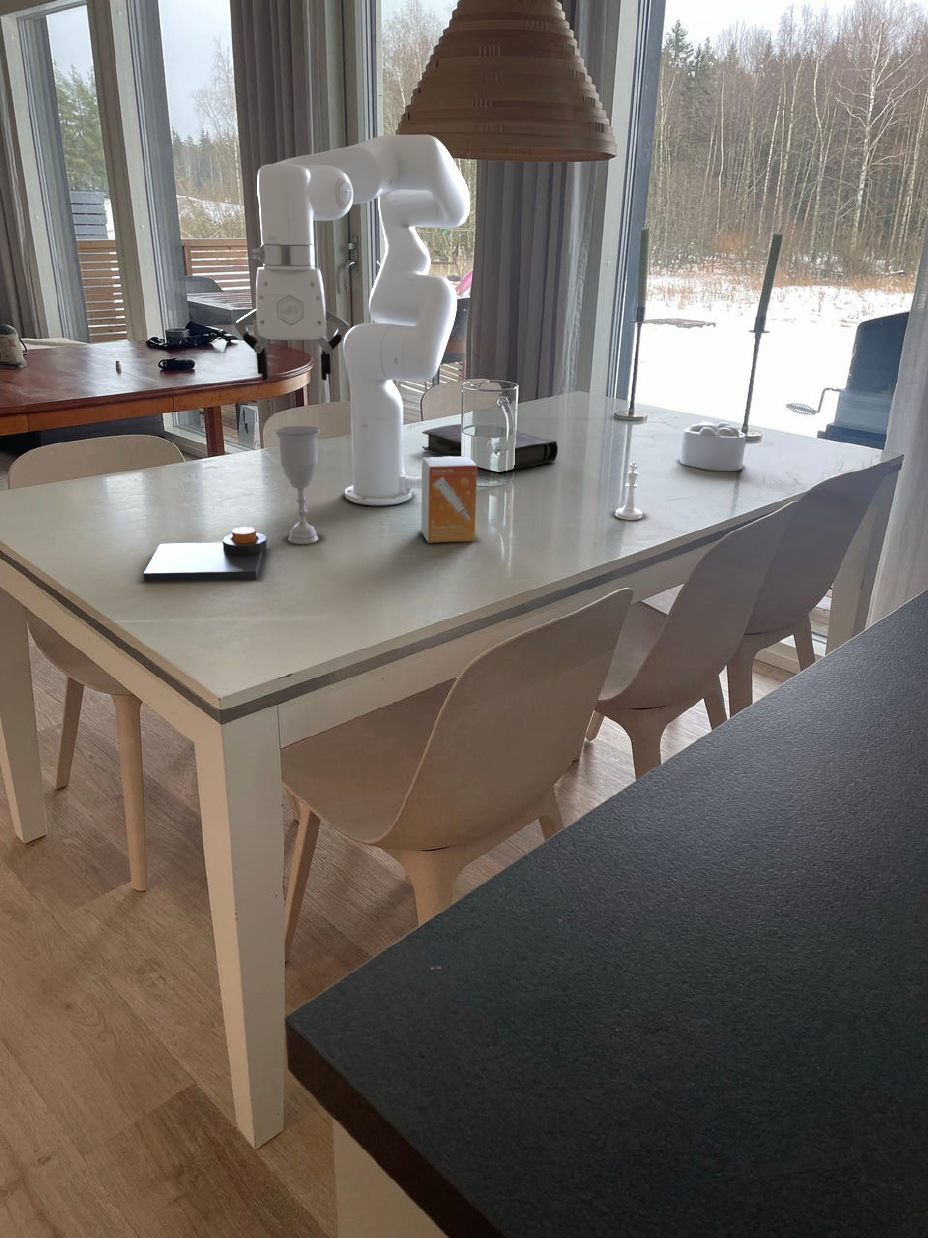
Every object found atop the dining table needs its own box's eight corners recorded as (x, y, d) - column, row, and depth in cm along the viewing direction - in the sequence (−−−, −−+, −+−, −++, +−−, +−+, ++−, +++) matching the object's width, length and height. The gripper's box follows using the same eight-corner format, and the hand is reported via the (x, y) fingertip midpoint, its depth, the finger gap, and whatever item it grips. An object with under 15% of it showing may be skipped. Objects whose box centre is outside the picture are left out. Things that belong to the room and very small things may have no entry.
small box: (427, 544, 152) (428, 466, 147) (420, 532, 158) (421, 456, 153) (475, 541, 154) (478, 464, 149) (467, 529, 160) (469, 454, 155)
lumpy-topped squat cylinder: (697, 454, 212) (702, 416, 209) (750, 465, 204) (756, 426, 201) (674, 462, 205) (679, 423, 202) (728, 474, 197) (734, 433, 194)
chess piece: (625, 521, 166) (631, 466, 162) (609, 513, 170) (614, 459, 166) (647, 517, 168) (653, 463, 164) (631, 510, 172) (636, 457, 168)
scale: (268, 549, 149) (267, 531, 147) (261, 579, 137) (260, 560, 135) (161, 551, 147) (159, 533, 146) (144, 582, 135) (141, 563, 134)
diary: (480, 440, 221) (480, 419, 219) (557, 461, 204) (558, 438, 202) (419, 452, 209) (419, 429, 207) (496, 475, 192) (496, 451, 190)
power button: (257, 537, 146) (256, 526, 145) (255, 544, 143) (254, 533, 142) (234, 537, 146) (233, 526, 145) (231, 545, 142) (230, 534, 142)
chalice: (315, 548, 150) (310, 437, 142) (275, 544, 151) (268, 434, 144) (330, 533, 156) (326, 427, 149) (292, 530, 157) (285, 424, 150)
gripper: (224, 258, 132) (234, 383, 139) (348, 260, 133) (351, 383, 141) (231, 255, 138) (240, 374, 145) (348, 257, 140) (351, 375, 147)
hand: (295, 378), depth 143 cm, fingers open, 8 cm apart
